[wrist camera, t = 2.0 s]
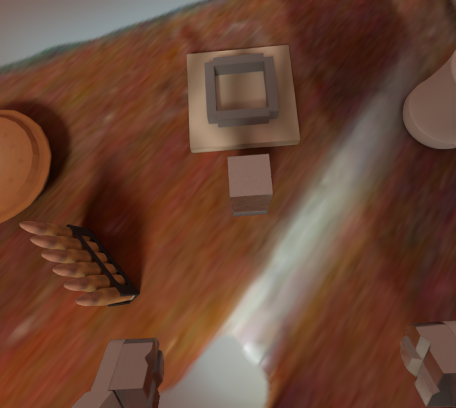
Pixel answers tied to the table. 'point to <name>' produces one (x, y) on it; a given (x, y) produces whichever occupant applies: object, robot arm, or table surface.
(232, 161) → the grey rectangular block
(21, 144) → the pie
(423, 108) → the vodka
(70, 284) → the ammunition clip
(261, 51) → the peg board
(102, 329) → the table surface
